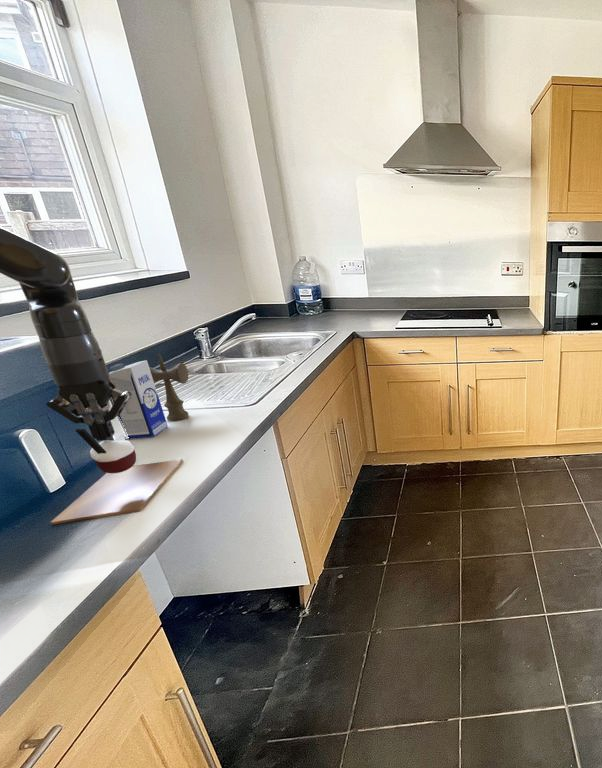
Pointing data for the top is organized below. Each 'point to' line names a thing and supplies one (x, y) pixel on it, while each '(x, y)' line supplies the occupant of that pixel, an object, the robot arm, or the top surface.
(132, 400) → the milk carton
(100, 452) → the cocoa
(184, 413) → the kendama
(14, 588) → the top surface
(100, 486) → the copper plate
